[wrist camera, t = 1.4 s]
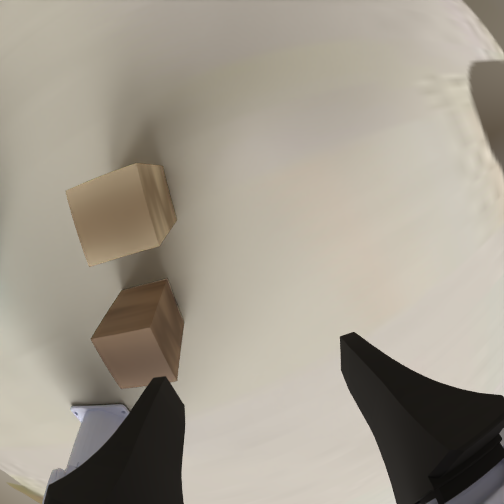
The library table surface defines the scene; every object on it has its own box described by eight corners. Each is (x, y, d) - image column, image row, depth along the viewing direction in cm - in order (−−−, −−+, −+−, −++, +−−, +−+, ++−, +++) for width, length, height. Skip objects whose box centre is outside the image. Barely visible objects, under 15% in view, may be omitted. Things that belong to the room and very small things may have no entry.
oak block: (177, 220, 19) (159, 246, 12) (126, 235, 19) (89, 267, 12) (162, 165, 18) (136, 162, 11) (111, 182, 17) (65, 191, 11)
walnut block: (184, 322, 21) (176, 381, 15) (140, 332, 21) (120, 388, 14) (167, 278, 20) (150, 327, 13) (121, 290, 20) (90, 339, 13)
